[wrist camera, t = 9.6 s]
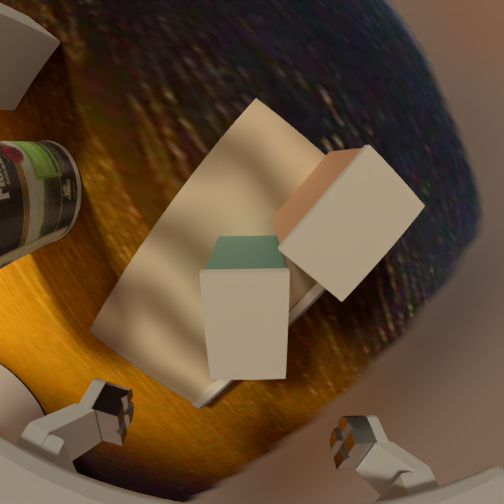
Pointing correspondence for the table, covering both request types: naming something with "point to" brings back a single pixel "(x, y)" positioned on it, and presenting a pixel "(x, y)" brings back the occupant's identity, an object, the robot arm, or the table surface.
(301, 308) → the shelf board
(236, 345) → the green tin
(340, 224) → the rust tin
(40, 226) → the coffee can
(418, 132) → the table surface
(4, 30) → the soap bottle
